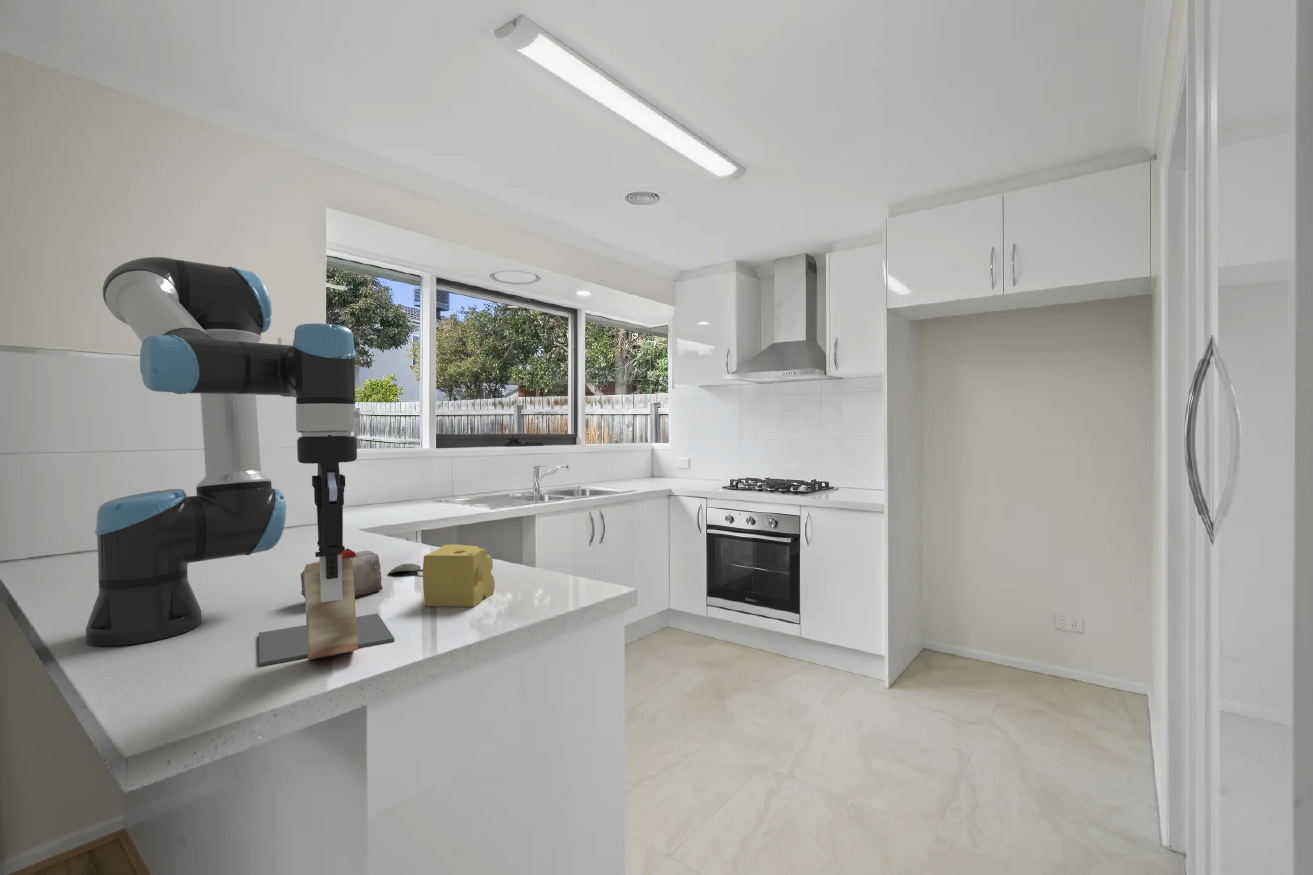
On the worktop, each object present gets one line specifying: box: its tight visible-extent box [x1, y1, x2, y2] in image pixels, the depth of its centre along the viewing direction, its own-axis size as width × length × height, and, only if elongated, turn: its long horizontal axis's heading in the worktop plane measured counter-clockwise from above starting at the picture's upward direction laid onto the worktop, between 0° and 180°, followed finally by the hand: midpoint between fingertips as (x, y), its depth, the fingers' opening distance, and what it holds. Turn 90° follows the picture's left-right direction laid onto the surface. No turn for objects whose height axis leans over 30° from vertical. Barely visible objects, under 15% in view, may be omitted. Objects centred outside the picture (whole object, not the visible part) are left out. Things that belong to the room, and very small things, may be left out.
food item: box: [300, 548, 383, 599], centre depth 126 cm, size 14×8×10 cm, turn 152°
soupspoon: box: [387, 563, 423, 575], centre depth 143 cm, size 22×3×7 cm
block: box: [303, 559, 359, 661], centre depth 93 cm, size 6×6×13 cm
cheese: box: [422, 543, 495, 608], centre depth 123 cm, size 10×11×10 cm
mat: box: [258, 613, 395, 667], centre depth 101 cm, size 18×16×1 cm
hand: (331, 599), depth 90 cm, fingers closed
